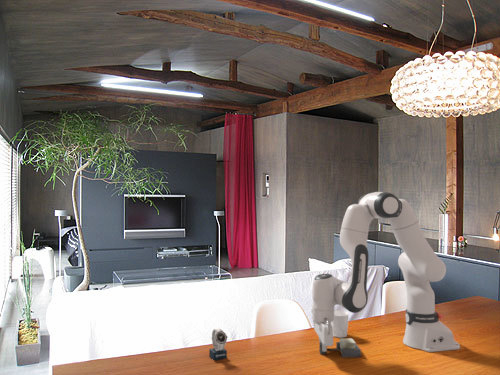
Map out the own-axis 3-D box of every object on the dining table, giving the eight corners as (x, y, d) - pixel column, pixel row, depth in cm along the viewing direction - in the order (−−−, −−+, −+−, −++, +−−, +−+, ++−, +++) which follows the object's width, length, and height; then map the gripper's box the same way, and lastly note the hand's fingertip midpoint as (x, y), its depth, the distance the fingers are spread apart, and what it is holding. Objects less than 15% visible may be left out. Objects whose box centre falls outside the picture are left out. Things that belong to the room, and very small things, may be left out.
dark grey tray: (354, 348, 179) (354, 341, 179) (360, 357, 170) (360, 349, 170) (336, 349, 178) (336, 341, 178) (341, 357, 170) (341, 349, 170)
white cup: (328, 336, 193) (329, 314, 193) (332, 331, 200) (332, 309, 200) (346, 339, 190) (346, 316, 190) (349, 333, 198) (349, 311, 198)
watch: (215, 362, 164) (215, 333, 164) (207, 355, 171) (207, 327, 171) (229, 360, 167) (229, 331, 167) (220, 352, 174) (220, 325, 174)
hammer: (352, 350, 177) (352, 338, 177) (355, 355, 172) (355, 342, 172) (318, 351, 176) (318, 338, 176) (321, 355, 171) (321, 343, 171)
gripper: (337, 322, 164) (337, 359, 164) (325, 307, 184) (325, 340, 184) (320, 323, 163) (320, 359, 163) (310, 308, 184) (310, 340, 184)
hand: (323, 349), depth 174 cm, fingers open, 2 cm apart
